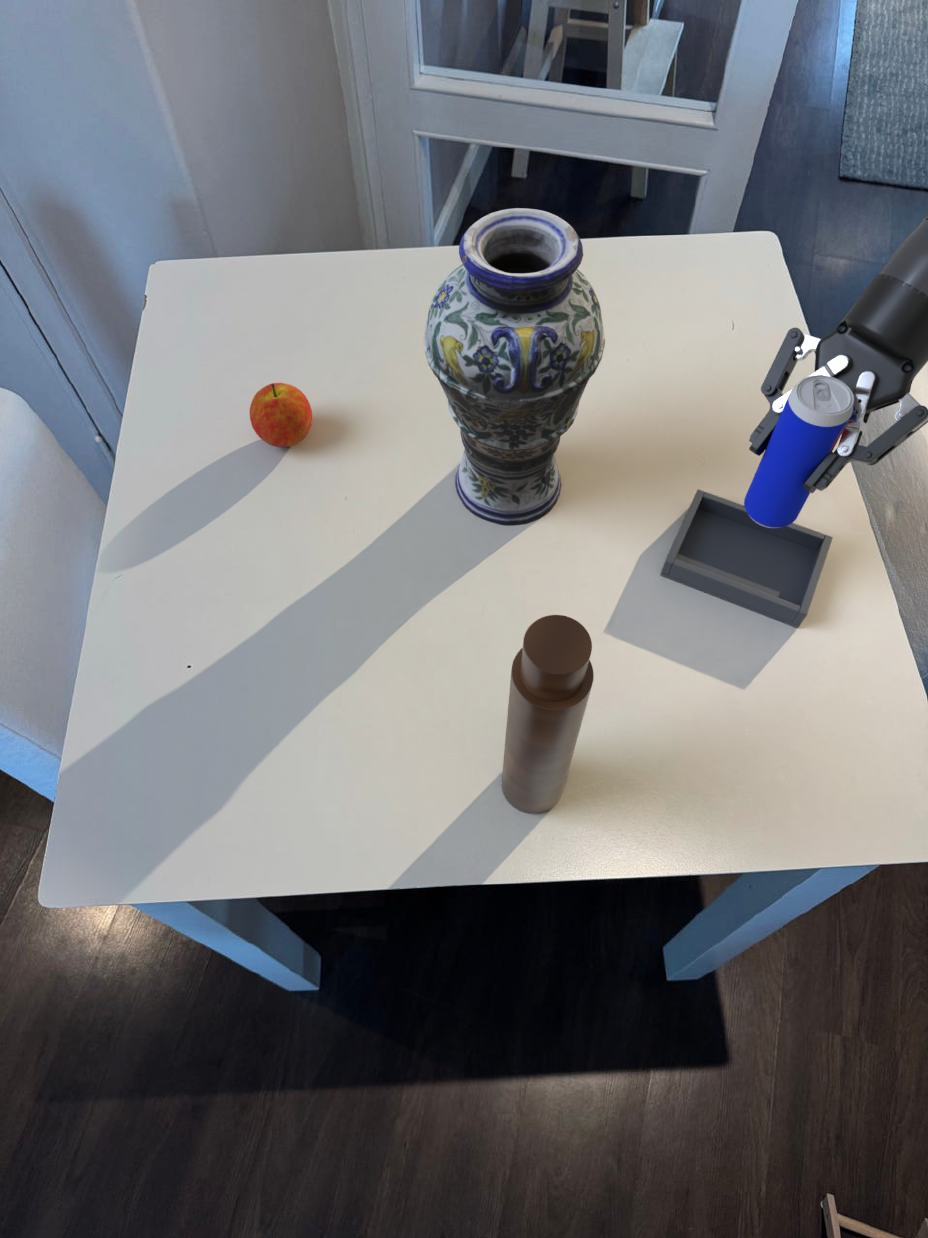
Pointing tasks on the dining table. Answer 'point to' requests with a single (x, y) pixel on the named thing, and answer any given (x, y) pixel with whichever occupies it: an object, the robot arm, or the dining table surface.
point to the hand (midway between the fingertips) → (781, 470)
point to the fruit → (281, 415)
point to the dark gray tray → (747, 559)
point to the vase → (514, 357)
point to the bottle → (545, 711)
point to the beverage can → (798, 449)
